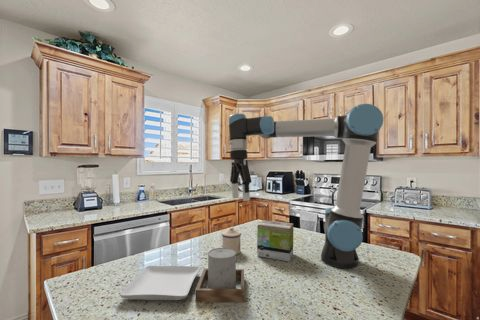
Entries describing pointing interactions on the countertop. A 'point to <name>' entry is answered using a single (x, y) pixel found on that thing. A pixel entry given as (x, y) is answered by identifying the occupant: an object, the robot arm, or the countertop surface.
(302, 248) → the countertop surface
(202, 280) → the collar
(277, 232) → the tea box
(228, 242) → the teacup with lid
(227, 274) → the grey speckled cylinder
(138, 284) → the salad plate
